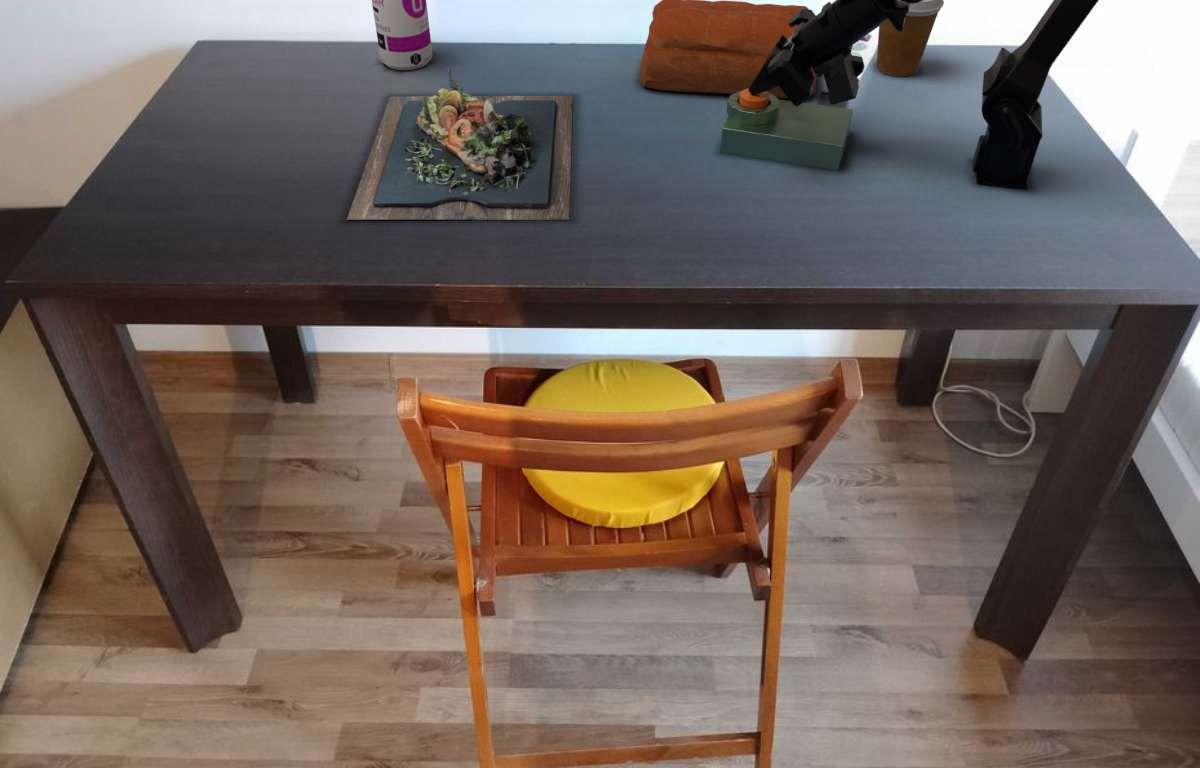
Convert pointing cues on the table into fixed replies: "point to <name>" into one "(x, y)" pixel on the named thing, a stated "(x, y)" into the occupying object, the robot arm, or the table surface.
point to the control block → (787, 132)
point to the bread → (712, 45)
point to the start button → (753, 100)
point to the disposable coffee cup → (906, 39)
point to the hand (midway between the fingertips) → (750, 92)
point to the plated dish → (469, 159)
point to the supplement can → (403, 33)
